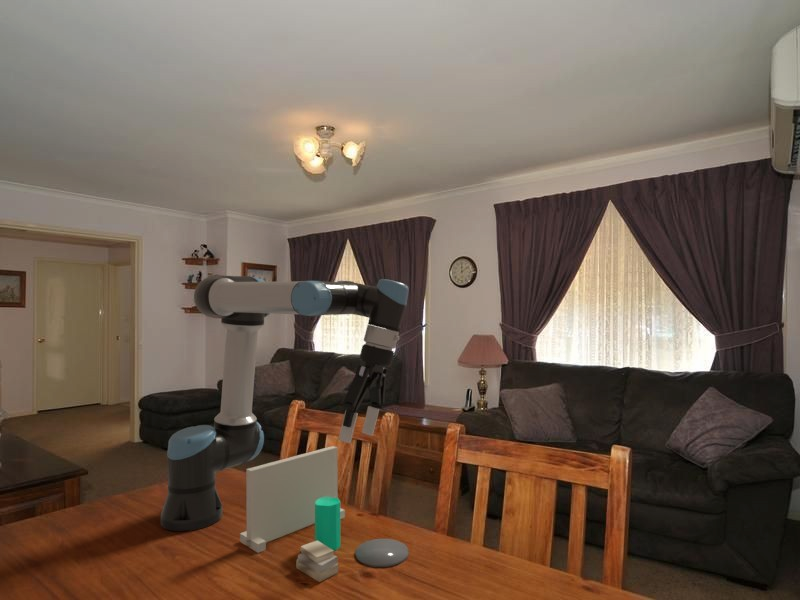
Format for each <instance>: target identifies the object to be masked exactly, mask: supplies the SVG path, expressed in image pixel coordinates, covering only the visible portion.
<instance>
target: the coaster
mask: <svg viewBox="0 0 800 600" xmlns="http://www.w3.org/2000/svg"><path fill="white" fill-rule="evenodd" d="M408 556H409V548H408V546H407V545H406V544H405V543H403V542H401V541H399V540H396V539H392V538H374V539H369V540H367V541H364V542H362V543H361V544H359V545H358V546H357V547H356V548H355V559H356V560H357V561H358V562H359V563H361V564H362V565H365V566H367V567H373V568H374V567H375V568H389V567H394V566H397V565H400V564H402V563H403V562H405V561H406V560H407V558H408Z"/></svg>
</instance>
